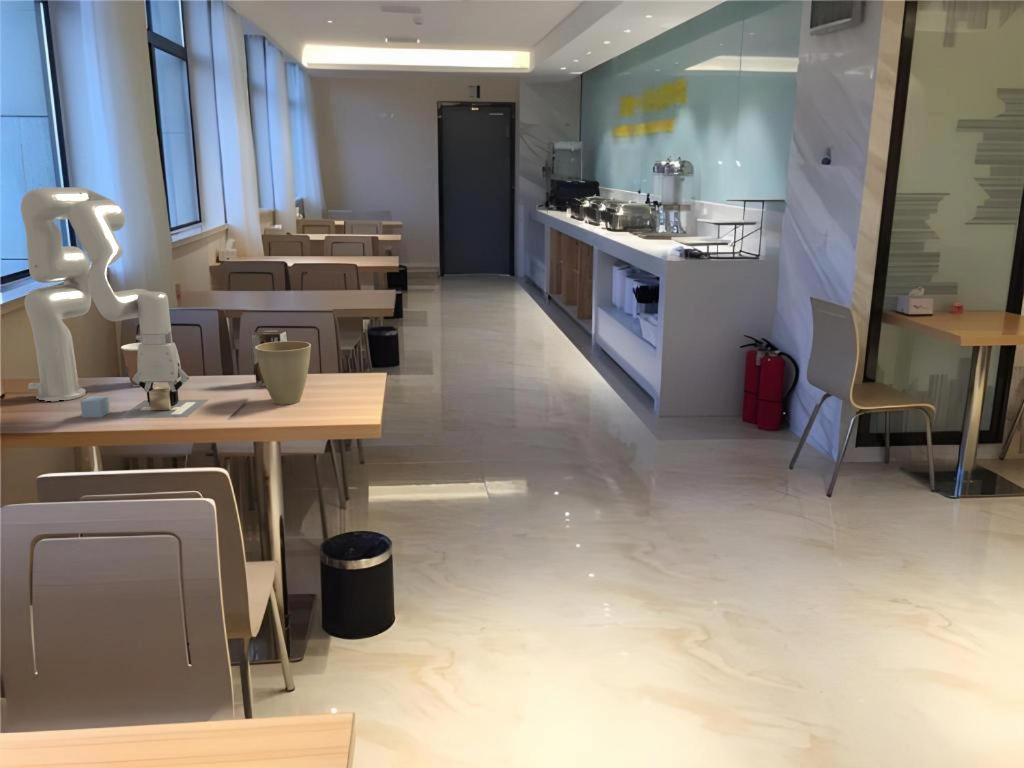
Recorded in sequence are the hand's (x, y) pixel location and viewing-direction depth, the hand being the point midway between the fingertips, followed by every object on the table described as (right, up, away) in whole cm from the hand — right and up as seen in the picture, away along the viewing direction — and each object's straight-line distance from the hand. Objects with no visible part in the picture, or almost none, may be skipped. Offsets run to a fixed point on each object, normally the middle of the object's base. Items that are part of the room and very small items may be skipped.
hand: (163, 404), depth 225 cm
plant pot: (+31, 0, +9) cm, 32 cm away
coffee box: (+22, +5, +29) cm, 37 cm away
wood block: (0, -1, 0) cm, 1 cm away
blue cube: (-16, -3, -5) cm, 17 cm away
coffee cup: (-18, +5, +30) cm, 36 cm away
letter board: (0, -2, 0) cm, 2 cm away
